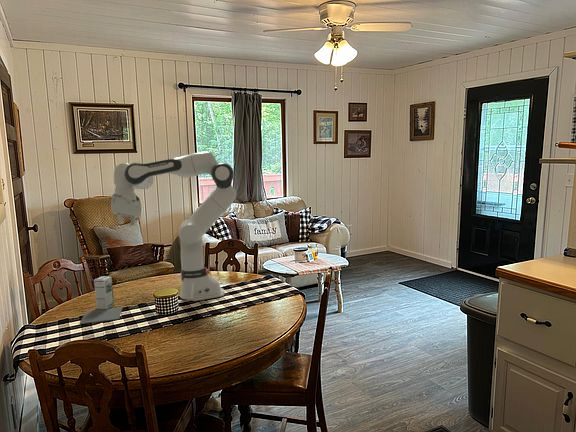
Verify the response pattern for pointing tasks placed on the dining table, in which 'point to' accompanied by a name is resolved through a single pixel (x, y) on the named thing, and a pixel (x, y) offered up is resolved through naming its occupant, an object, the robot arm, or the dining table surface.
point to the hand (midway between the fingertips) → (127, 224)
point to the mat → (101, 315)
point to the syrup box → (104, 292)
